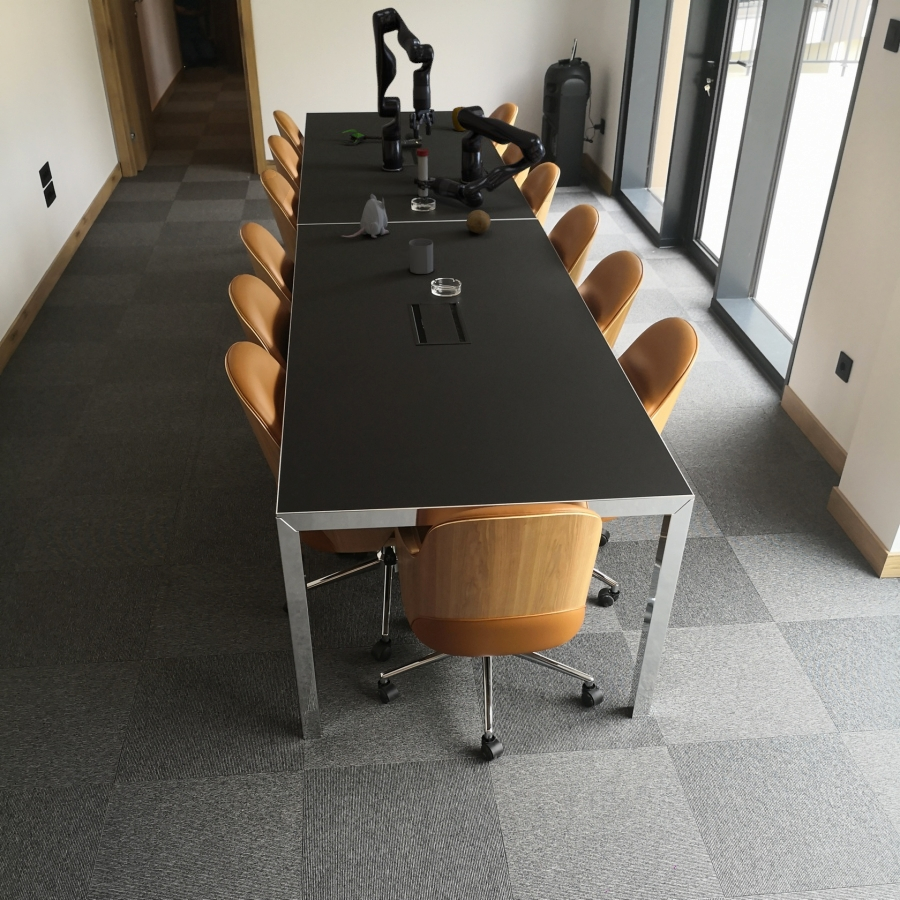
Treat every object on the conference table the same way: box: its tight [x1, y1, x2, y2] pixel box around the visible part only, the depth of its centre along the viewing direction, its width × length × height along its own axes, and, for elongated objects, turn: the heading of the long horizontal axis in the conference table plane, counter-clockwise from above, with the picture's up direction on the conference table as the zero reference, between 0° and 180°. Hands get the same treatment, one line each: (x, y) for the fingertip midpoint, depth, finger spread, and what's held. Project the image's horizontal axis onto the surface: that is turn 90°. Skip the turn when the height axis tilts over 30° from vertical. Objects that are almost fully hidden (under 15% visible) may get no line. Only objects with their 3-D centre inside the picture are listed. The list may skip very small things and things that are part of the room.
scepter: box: [340, 129, 382, 146], centre depth 465 cm, size 6×13×30 cm
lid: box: [416, 148, 430, 157], centre depth 375 cm, size 5×5×2 cm
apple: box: [451, 105, 467, 132], centre depth 487 cm, size 11×11×13 cm
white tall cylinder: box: [417, 155, 429, 198], centre depth 380 cm, size 4×4×19 cm
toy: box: [341, 193, 390, 239], centre depth 333 cm, size 9×24×15 cm, turn 137°
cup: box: [408, 237, 434, 275], centre depth 305 cm, size 8×8×10 cm
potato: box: [465, 209, 492, 234], centre depth 341 cm, size 10×14×8 cm
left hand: (422, 136), depth 372 cm, fingers open, 7 cm apart
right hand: (418, 179), depth 384 cm, fingers closed on white tall cylinder, 4 cm apart
